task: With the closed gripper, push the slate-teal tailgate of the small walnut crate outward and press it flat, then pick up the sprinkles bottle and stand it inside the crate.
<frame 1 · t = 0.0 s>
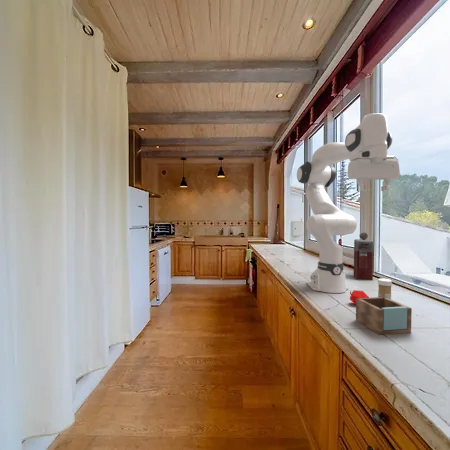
hand: (373, 190, 103), 48 cm above the countertop, tool pointing down, fingers open, 8 cm apart
tailgate: (394, 318, 85), point 5 cm above the countertop, hinge at 0.0°
sprinkles bottle: (384, 314, 102), on the countertop
apple: (359, 305, 112), on the countertop
toy vending machine: (363, 278, 158), on the countertop
crate: (381, 325, 91), on the countertop
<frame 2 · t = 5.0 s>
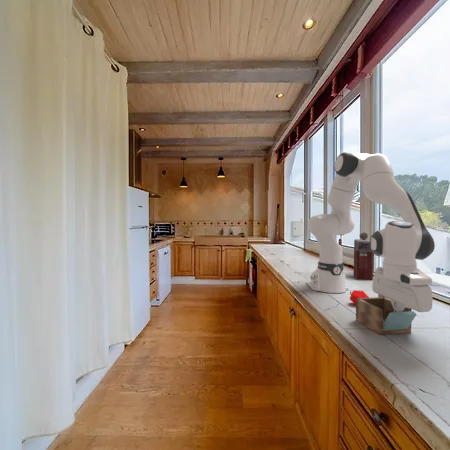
hand: (398, 315, 84), 6 cm above the countertop, tool pointing down, fingers closed, pressing on tailgate
tailgate: (398, 321, 83), point 5 cm above the countertop, hinge at 28.4°, touching gripper
everything else where it was.
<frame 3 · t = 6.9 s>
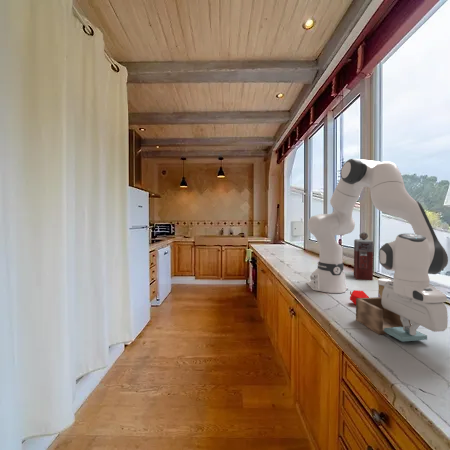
hand: (409, 333, 79), 3 cm above the countertop, tool pointing down, fingers closed
tailgate: (404, 333, 81), point 2 cm above the countertop, hinge at 88.4°
everything else where it was.
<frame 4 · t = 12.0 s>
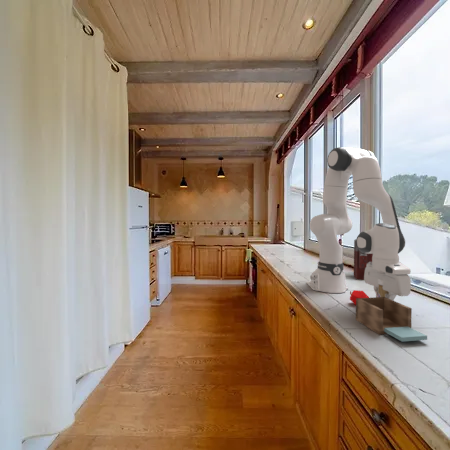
hand: (384, 300, 102), 5 cm above the countertop, tool pointing down, fingers closed on sprinkles bottle, 4 cm apart
sprinkles bottle: (384, 314, 102), on the countertop, touching gripper
everything else where it was.
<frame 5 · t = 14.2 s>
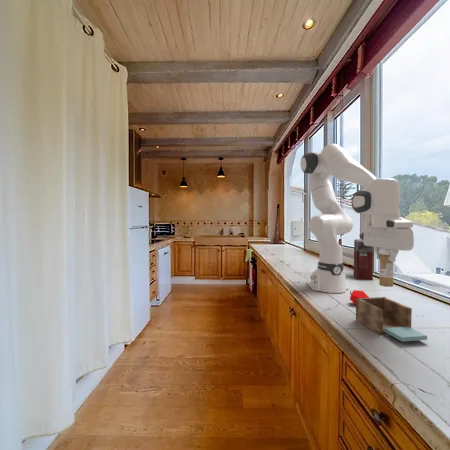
hand: (385, 260, 95), 22 cm above the countertop, tool pointing down, fingers closed on sprinkles bottle, 4 cm apart
sprinkles bottle: (386, 286, 95), point 13 cm above the countertop, touching gripper
everything else where it was.
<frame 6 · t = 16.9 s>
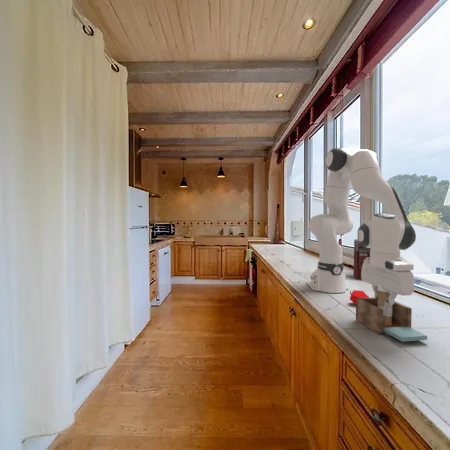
hand: (384, 300, 90), 9 cm above the countertop, tool pointing down, fingers closed on sprinkles bottle, 4 cm apart
sprinkles bottle: (384, 324, 90), point 1 cm above the countertop, touching crate, gripper
everything else where it was.
when the fingers open (8 cm above the countertop, at t = 17.6 s): sprinkles bottle stays where it is, resting on crate.
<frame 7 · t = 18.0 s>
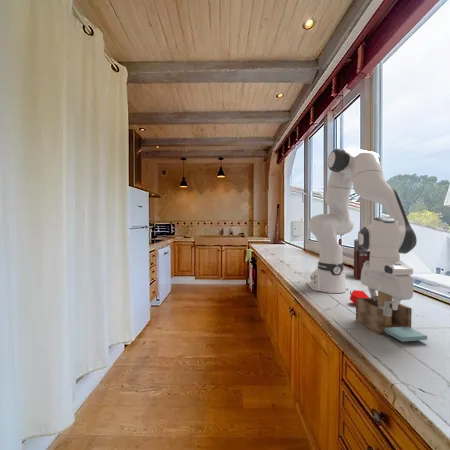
hand: (383, 304, 90), 8 cm above the countertop, tool pointing down, fingers open, 8 cm apart
sprinkles bottle: (384, 324, 90), point 1 cm above the countertop, touching crate
everything else where it was.
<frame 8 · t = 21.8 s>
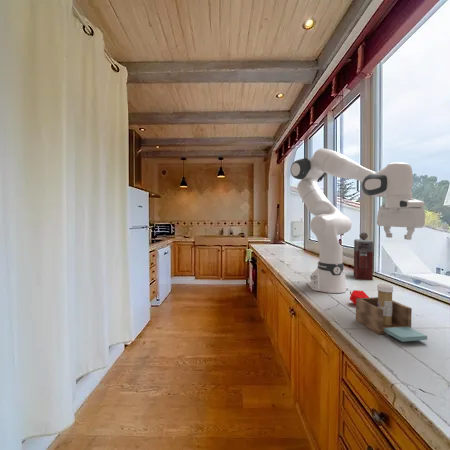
hand: (398, 238, 104), 29 cm above the countertop, tool pointing down, fingers open, 8 cm apart
nothing on the countertop moved.
at the end: tailgate at +89° (first picture: +0°); sprinkles bottle inside the target area on the crate (0.5 cm from its centre), point 0.8 cm above the crate's base; sprinkles bottle tilted 0° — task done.
